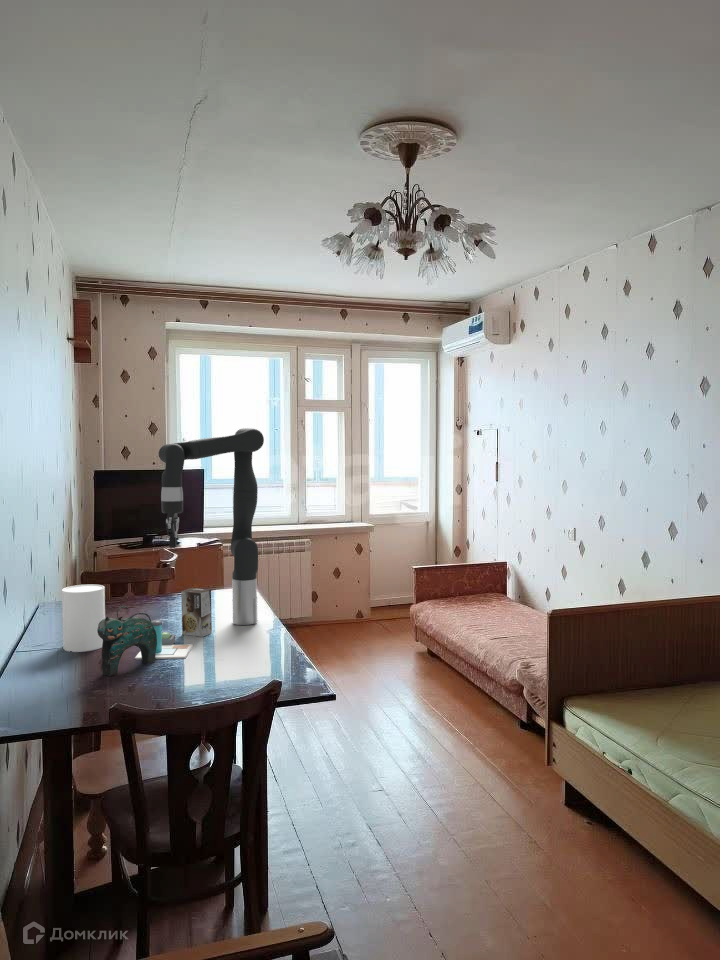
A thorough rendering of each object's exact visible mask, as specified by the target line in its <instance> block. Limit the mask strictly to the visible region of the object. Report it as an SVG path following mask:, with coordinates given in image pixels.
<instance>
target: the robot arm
mask: <svg viewBox="0 0 720 960" xmlns="http://www.w3.org/2000/svg"><path fill="white" fill-rule="evenodd" d="M234 433H235V434H231V435H226V436H217V437H214V436H213V437H206V438H205V437H204V438H198V439H193V440H189V441H182V442H173V443H166V444H164V445H162V446H161V447H160V448H159V450H158V457H159V459H160V461H162V462H163V463H164V464H165V466H164V467H165V469H164V471H163V472H162V473H161V493H160V494H161V495H160V498H161V499H160V500H161V504H160V505H161V506H160V507H161V513H163V514H167V518H165V528H166V535H167V537H168V538H169V539H168V540H169V543H168V544H169V549H175V548H177V536H178V534H179V525H180V517H178V514H181V513H183V512H184V491H183V475H182V474H183V470H184V465H185V461H186V460H199V459H203V458H204V459H205V458H210V457H215V456H219V455H223V454H229V453H233V455H234V458H233V459H234V469H233V470H234V472H233V473H234V475H233V492H232V493H233V494H232V495H233V497H232V509H233V511H232V512H233V513H232V515H233V517H232V518H233V526H232V534H231V542H230V546H229V547H230V548H229V549H230V553H231V555H232V556H233V557H234V559H233V560H234V562H233V563H234V564H233V567H234V568H233V571H232V576H231V577H232V579H231V581H232V582H231V583H232V584H231V585H232V586H231V587H232V623H233V624H234V625H236V626H237V625H238V626H248V625H249V626H250V625H257V622H258V595H257V594H258V593H257V592H258V590H257V589H258V586H257V584H258V583H257V582H258V581H257V574H258V570H259V549H258V543H256V542H255V540H254V539H253V536H252V534H253V533H252V529H253V528H252V527H253V521H254V517H255V514H256V509H257V504H258V490H259V489H258V482H257V477H256V475H255V472H254V468H253V453H255V452H257V451H259V450H260V449H261V448H262V447H263V445H264V441H265V440H264V439H265V438H264V435H263V433H262V432H261V431H260V430H259V429H257V428H253V427H243V428H239V429H238V430H236V432H234Z"/></svg>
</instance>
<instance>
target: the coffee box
mask: <svg viewBox="0 0 720 960" xmlns="http://www.w3.org/2000/svg"><path fill="white" fill-rule="evenodd" d="M180 595H181V596H180V597H181V629H182V631H181V634H182V635H183V636H184V635H185V636H192V637H200V638H203V637H205V636H209V635H211V634H212V633H213V632H212V631H213V628H212V623H213V622H212V620H213V619H212V589H208V588H196V587H193V588H192V587H190V588H187V589H184V590H182V591H181V592H180Z"/></svg>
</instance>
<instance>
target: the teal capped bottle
mask: <svg viewBox="0 0 720 960" xmlns="http://www.w3.org/2000/svg"><path fill="white" fill-rule="evenodd" d="M162 622H163V621H162V620H159V619H155V620H151V623H152V625H153V626H154V629H155V631H156V635H157V647H156V653H160V652H162V633H163V632H162V628H163V627H162V626H163V625H162V624H163V623H162Z"/></svg>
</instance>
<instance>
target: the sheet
mask: <svg viewBox="0 0 720 960" xmlns="http://www.w3.org/2000/svg"><path fill="white" fill-rule="evenodd" d="M193 645H194V644H189V643H188V644H173V645H162V652H160V653H156V654H155V660H173V659H178V660H179V659H186V658H187V657H188V655H189V653H190V651H191V650H192V648H193ZM134 660H136V661H137V660H142V655H141V650H139V652H138V653H137V655H135V657H134Z"/></svg>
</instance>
